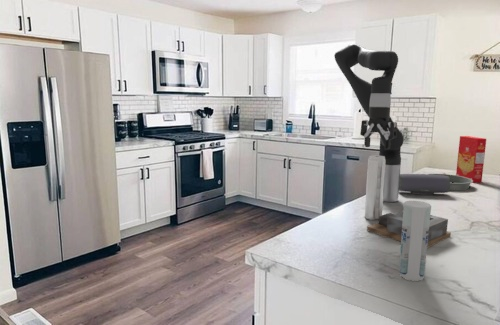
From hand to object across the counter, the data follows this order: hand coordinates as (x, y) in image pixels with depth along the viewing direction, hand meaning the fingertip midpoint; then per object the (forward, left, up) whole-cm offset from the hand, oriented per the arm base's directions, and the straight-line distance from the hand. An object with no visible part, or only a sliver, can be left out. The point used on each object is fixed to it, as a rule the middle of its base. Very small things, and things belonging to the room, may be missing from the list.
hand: (376, 148), depth 142 cm
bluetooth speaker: (-8, +53, -28) cm, 61 cm away
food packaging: (-8, +106, -28) cm, 110 cm away
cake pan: (-9, +81, -29) cm, 86 cm away
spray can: (+35, -34, -28) cm, 56 cm away
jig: (+18, -5, -28) cm, 34 cm away
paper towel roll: (0, 0, -28) cm, 28 cm away
